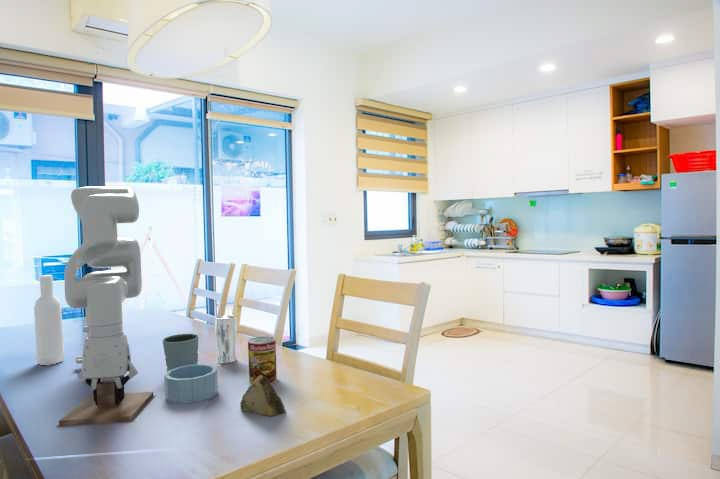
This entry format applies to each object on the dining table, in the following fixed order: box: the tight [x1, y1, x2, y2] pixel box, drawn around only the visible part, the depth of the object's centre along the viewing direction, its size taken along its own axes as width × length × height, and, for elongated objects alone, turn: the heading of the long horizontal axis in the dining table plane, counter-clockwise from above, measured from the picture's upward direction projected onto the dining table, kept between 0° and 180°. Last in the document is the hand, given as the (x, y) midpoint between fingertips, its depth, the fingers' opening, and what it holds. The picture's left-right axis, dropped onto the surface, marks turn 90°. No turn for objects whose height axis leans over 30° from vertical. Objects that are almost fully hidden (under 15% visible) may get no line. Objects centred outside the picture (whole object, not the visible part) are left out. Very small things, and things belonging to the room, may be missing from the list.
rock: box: [240, 375, 287, 417], centre depth 117 cm, size 11×9×10 cm
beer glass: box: [214, 314, 238, 365], centre depth 160 cm, size 7×7×15 cm
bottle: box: [33, 274, 65, 366], centre depth 163 cm, size 8×8×30 cm
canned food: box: [247, 336, 278, 385], centre depth 140 cm, size 8×8×12 cm
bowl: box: [164, 363, 219, 404], centre depth 129 cm, size 13×13×6 cm
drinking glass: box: [162, 333, 199, 373], centre depth 145 cm, size 10×10×12 cm
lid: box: [58, 378, 155, 426], centre depth 119 cm, size 16×16×7 cm
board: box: [55, 395, 156, 428], centre depth 119 cm, size 17×17×1 cm
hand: (109, 402), depth 119 cm, fingers closed on lid, 4 cm apart
